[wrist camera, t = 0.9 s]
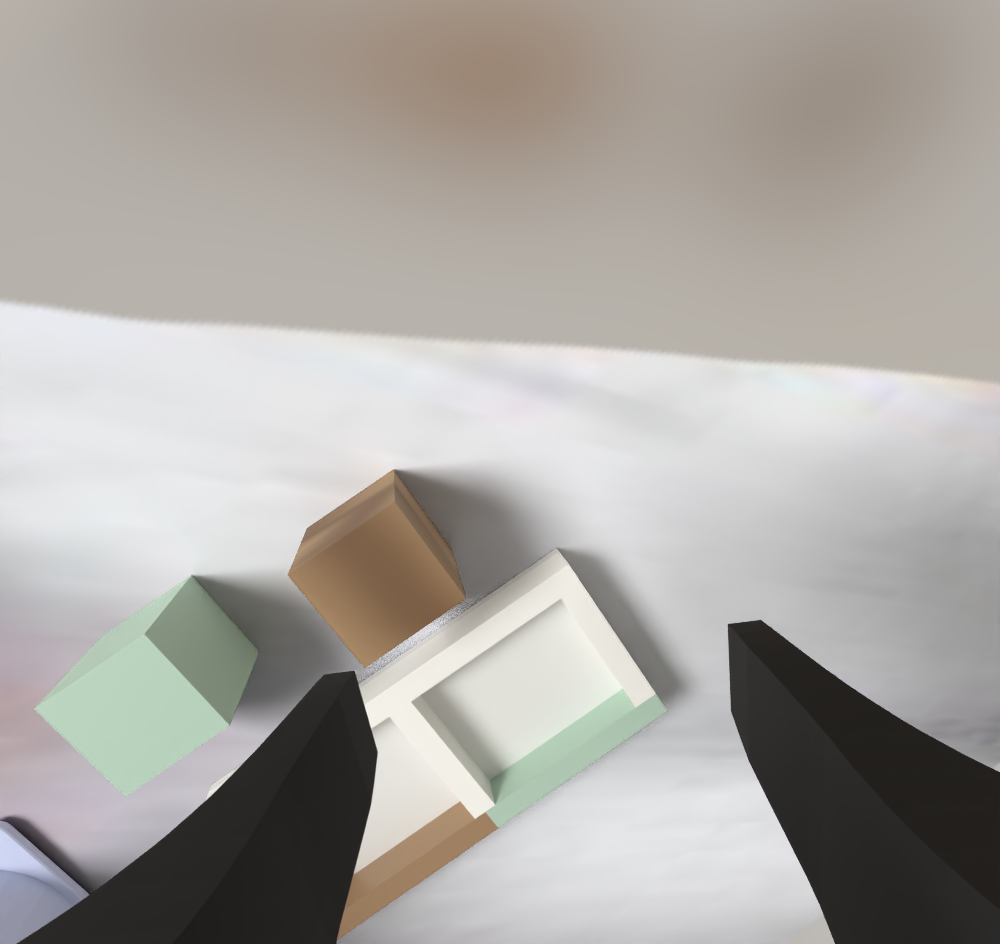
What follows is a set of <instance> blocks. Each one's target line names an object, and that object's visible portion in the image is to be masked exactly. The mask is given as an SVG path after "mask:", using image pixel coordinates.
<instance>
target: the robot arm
mask: <svg viewBox="0 0 1000 944" xmlns="http://www.w3.org/2000/svg"><path fill="white" fill-rule="evenodd" d="M728 642H729V669H730V695H731V712H732V715H733V718H734V721H735V724H736V726H737V729H738V732H739V735H740V738H741V741H742V743H743V746H744V749H745V751H746V754H747V757H748V759H749V762H750V764H751V766H752V768H753V770H754V772H755V774H756V776H757V778H758V780H759V783H760V785H761V787H762V789H763V791H764V793H765V795H766V797H767V799H768V801H769V803H770V805H771V807H772V809H773V811H774V813H775V815H776V817H777V819H778V821H779V823H780V825H781V827H782V829H783V830H784V832H785V834H786V836H787V838H788V840H789V842H790V844H791V846H792V848H793V850H794V852H795V854H796V856H797V858H798V860H799V862H800V864H801V866H802V868H803V870H804V872H805V874H806V876H807V878H808V880H809V883H810V885H811V887H812V889H813V891H814V894H815V896H816V898H817V900H818V902H819V904H820V907H821V909H822V912H823V914H824V917H825V919H826V922H827V924H828V926H829V929H830V932H831V934H832V937H833V939H834V942H835V944H1000V772H998V771H996V770H994V769H992V768H990V767H988V766H986V765H984V764H982V763H980V762H978V761H976V760H974V759H972V758H970V757H968V756H966V755H964V754H962V753H960V752H958V751H956V750H955V749H953V748H951V747H949V746H947V745H945V744H944V743H942V742H940V741H938V740H936V739H934V738H933V737H931V736H929V735H927V734H925V733H923V732H922V731H920V730H918V729H916V728H915V727H913V726H911V725H910V724H908V723H906V722H905V721H903V720H901V719H900V718H898V717H896V716H895V715H893V714H892V713H890V712H889V711H887V710H885V709H884V708H882V707H881V706H879V705H877V704H876V703H874V702H873V701H871V700H870V699H868V698H867V697H865V696H864V695H862V694H861V693H859V692H858V691H856V690H855V689H853V688H852V687H850V686H849V685H847V684H846V683H844V682H843V681H842V680H840V679H839V678H837V677H836V676H835V675H833V674H832V673H830V672H829V671H828V670H826V669H825V668H823V667H822V666H821V665H819V664H818V663H817V662H815V661H814V660H813V659H811V658H810V657H809V656H807V655H806V654H805V653H803V652H802V651H801V650H799V649H798V648H797V647H796V646H794V645H793V644H792V643H790V642H789V641H788V640H786V639H785V638H784V637H783V636H781V635H780V634H779V633H777V632H776V631H775V630H773V629H772V628H771V627H769V626H768V625H767V624H766V623H764V622H763V621H762V620H757V621H749V622H741V623H733V624H728ZM377 756H378V751H377V747H376V744H375V740H374V737H373V733H372V730H371V726H370V723H369V719H368V716H367V712H366V709H365V705H364V702H363V698H362V695H361V692H360V688H359V685H358V681H357V678H356V674H355V671H349V672H341V673H333V674H325V675H324V676H323V677H322V678H321V679H320V680H319V681H318V682H317V683H316V684H315V685H314V686H313V687H312V688H311V690H310V691H309V692H308V693H307V694H306V695H305V696H304V697H303V699H302V700H301V701H300V702H299V703H298V704H297V705H296V707H295V708H294V709H293V710H292V711H291V712H290V713H289V714H288V716H287V717H286V718H285V719H284V720H283V721H282V722H281V723H280V724H279V726H278V727H277V728H276V729H275V730H274V731H273V732H272V733H271V734H270V735H269V737H268V738H267V739H266V740H265V741H264V742H263V743H262V744H261V745H260V747H259V748H258V749H257V750H256V751H255V752H254V753H253V754H252V755H251V756H250V757H249V758H248V759H247V760H246V761H245V762H244V763H243V764H242V765H241V766H240V767H239V768H238V769H237V770H236V771H235V772H234V773H233V774H232V775H231V776H230V777H229V778H228V779H227V780H226V781H225V782H224V783H223V784H222V785H221V786H220V787H219V788H218V789H217V790H216V791H215V792H214V793H213V794H212V795H211V796H210V797H209V798H208V799H207V800H206V801H205V802H204V803H203V804H202V805H200V806H199V807H198V808H197V809H196V810H195V811H194V812H193V813H192V814H191V815H189V816H188V817H187V818H186V819H185V820H184V821H183V822H181V823H180V824H179V825H178V826H177V827H176V828H174V829H173V830H172V831H171V832H170V833H169V834H168V835H166V836H165V837H164V838H163V839H162V840H160V841H159V842H158V843H157V844H156V845H154V846H153V847H152V848H150V849H149V850H148V851H147V852H145V853H144V854H143V855H141V856H140V857H139V858H138V859H136V860H135V861H134V862H132V863H131V864H130V865H128V866H127V867H126V868H125V869H123V870H122V871H121V872H119V873H118V874H117V875H115V876H114V877H113V878H112V879H110V880H109V881H108V882H106V883H105V884H104V885H102V886H101V887H100V888H98V889H97V890H96V891H94V892H93V893H91V894H88V893H87V892H86V891H85V890H84V889H83V888H82V887H80V886H79V885H78V884H77V883H76V882H75V881H74V880H73V879H71V878H70V877H69V876H68V875H67V874H66V873H65V872H63V871H62V870H61V869H60V868H59V867H58V866H57V865H56V864H54V863H53V862H52V861H51V860H50V859H49V858H48V857H47V856H45V855H44V854H43V853H42V852H41V851H40V850H39V849H37V848H36V847H35V846H34V845H33V844H32V843H31V842H30V841H28V840H27V839H26V838H25V837H24V836H23V835H22V834H20V833H19V832H18V831H17V830H16V829H15V828H14V827H13V826H11V825H10V824H9V823H7V822H4V821H0V944H336V942H337V938H338V933H339V929H340V924H341V920H342V917H343V913H344V909H345V905H346V901H347V897H348V893H349V890H350V886H351V882H352V878H353V874H354V870H355V867H356V863H357V859H358V855H359V851H360V847H361V843H362V839H363V836H364V832H365V828H366V824H367V820H368V816H369V811H370V807H371V803H372V796H373V788H374V781H375V773H376V764H377Z"/></svg>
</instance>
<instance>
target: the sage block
mask: <svg viewBox="0 0 1000 944" xmlns="http://www.w3.org/2000/svg"><path fill="white" fill-rule="evenodd" d="M258 654H259V651H258V650H257V649H256V648H255V646H254V645H253V644H252V643H251V642H250V641H249V640H248V638H247V637H246V636H245V635H244V634H243V633H242V632H241V630H240V629H239V628H238V627H237V626H236V625H235V624H234V623H233V621H232V620H231V619H230V618H229V617H228V616H227V615H226V613H225V612H224V611H223V610H222V609H221V608H220V607H219V606H218V604H217V603H216V602H215V601H214V600H213V599H212V598H211V596H210V595H209V594H208V593H207V592H206V591H205V590H204V589H203V587H202V586H201V585H200V584H199V583H198V582H197V581H196V579H195V578H194V577H193V576H192V575H191V576H190V577H188V578H187V579H185V580H184V581H182V582H181V583H179V584H178V585H176V586H175V587H173V588H172V589H171V590H169V591H168V592H166V593H165V594H163V595H162V596H160V597H159V598H157V599H156V600H154V601H153V602H151V603H150V604H148V605H147V606H146V607H144V608H143V609H141V610H140V611H138V612H137V613H135V614H134V615H132V616H131V617H129V618H128V619H126V620H125V621H123V622H122V623H121V624H119V625H118V626H116V627H115V628H113V629H112V630H110V631H109V632H107V633H106V634H104V635H103V636H102V637H101V638H100V639H99V640H98V641H97V642H96V644H95V645H94V646H93V647H92V648H91V649H90V650H89V651H88V652H87V653H86V654H85V655H84V656H83V657H82V658H81V660H80V661H79V662H78V663H77V664H76V665H75V666H74V667H73V668H72V669H71V670H70V671H69V672H68V673H67V674H66V676H65V677H64V678H63V679H62V680H61V681H60V682H59V683H58V684H57V685H56V686H55V687H54V688H53V689H52V690H51V692H50V693H49V694H48V695H47V696H46V697H45V698H44V699H43V700H42V701H41V702H40V703H39V704H38V705H37V706H36V708H35V710H36V711H37V712H38V713H39V714H40V715H41V716H42V717H43V718H44V719H45V720H46V721H47V722H48V723H49V724H50V725H51V726H52V727H53V728H54V729H55V730H56V731H58V732H59V733H60V734H61V735H62V736H63V737H64V738H65V739H66V740H67V741H68V742H69V743H70V744H71V745H72V746H73V747H74V748H75V749H76V750H77V751H78V752H79V753H80V754H81V755H82V756H84V757H85V758H86V759H87V760H88V761H89V762H90V763H91V764H92V765H93V766H94V767H95V768H96V769H97V770H98V771H99V772H100V773H101V774H102V775H103V776H104V777H105V778H106V779H107V780H108V781H110V782H111V783H112V784H113V785H114V786H115V787H116V788H117V789H118V790H119V791H120V792H121V793H122V794H123V795H124V796H125V797H126V796H127V795H129V794H130V793H132V792H133V791H135V790H136V789H138V788H139V787H141V786H142V785H143V784H145V783H146V782H148V781H149V780H151V779H152V778H154V777H155V776H157V775H158V774H160V773H161V772H162V771H164V770H165V769H167V768H168V767H170V766H171V765H173V764H174V763H176V762H177V761H178V760H180V759H181V758H183V757H184V756H186V755H187V754H189V753H190V752H192V751H193V750H195V749H196V748H197V747H199V746H200V745H202V744H203V743H205V742H206V741H208V740H209V739H211V738H212V737H213V736H215V735H216V734H218V733H219V732H221V731H222V730H224V729H225V728H227V727H228V726H229V725H230V723H231V721H232V718H233V716H234V713H235V711H236V708H237V706H238V703H239V701H240V699H241V696H242V694H243V691H244V689H245V686H246V684H247V681H248V679H249V676H250V674H251V671H252V669H253V666H254V664H255V661H256V659H257V656H258Z"/></svg>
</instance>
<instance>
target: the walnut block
mask: <svg viewBox="0 0 1000 944" xmlns="http://www.w3.org/2000/svg"><path fill="white" fill-rule="evenodd" d="M288 576H289V577H290V578H291V580H292V581H293V582H294V583H295V585H296V586H297V587H298V588H299V589H300V591H301V592H302V593H303V594H304V595H305V597H306V598H307V599H308V600H309V601H310V603H311V604H312V605H313V606H314V607H315V609H316V610H317V611H318V612H319V614H320V615H321V616H322V617H323V618H324V620H325V621H326V622H327V623H328V624H329V626H330V627H331V628H332V629H333V630H334V632H335V633H336V634H337V635H338V636H339V638H340V639H341V640H342V641H343V643H344V644H345V645H346V646H347V647H348V649H349V650H350V651H351V652H352V653H353V655H354V656H355V657H356V658H357V659H358V661H359V662H360V663H361V664H362V665H363V667H364V668H365V667H367V666H368V665H370V664H371V663H373V662H374V661H376V660H377V659H379V658H380V657H381V656H383V655H384V654H386V653H387V652H389V651H390V650H392V649H393V648H395V647H396V646H397V645H399V644H400V643H402V642H403V641H405V640H406V639H408V638H409V637H411V636H412V635H414V634H415V633H416V632H418V631H419V630H421V629H422V628H424V627H425V626H427V625H428V624H430V623H431V622H432V621H434V620H435V619H437V618H438V617H440V616H441V615H443V614H444V613H446V612H447V611H448V610H450V609H451V608H453V607H454V606H456V605H457V604H459V603H460V602H462V601H463V600H464V599H466V596H465V593H464V589H463V586H462V582H461V579H460V576H459V572H458V569H457V565H456V562H455V558H454V555H453V551H452V549H451V547H450V546H449V545H448V543H447V542H446V540H445V539H444V538H443V536H442V535H441V534H440V532H439V531H438V530H437V528H436V527H435V525H434V524H433V523H432V521H431V520H430V519H429V517H428V516H427V514H426V513H425V512H424V510H423V509H422V508H421V506H420V505H419V503H418V502H417V501H416V499H415V498H414V497H413V495H412V494H411V493H410V491H409V490H408V488H407V487H406V486H405V484H404V483H403V482H402V480H401V479H400V477H399V476H398V475H397V473H396V472H395V471H394V470H392V471H391V472H389V473H388V474H386V475H385V476H383V477H382V478H380V479H379V480H377V481H376V482H374V483H373V484H371V485H370V486H369V487H367V488H366V489H364V490H363V491H361V492H360V493H358V494H357V495H355V496H354V497H352V498H351V499H349V500H348V501H346V502H345V503H344V504H342V505H341V506H339V507H338V508H336V509H335V510H333V511H332V512H330V513H329V514H327V515H326V516H324V517H323V518H322V519H320V520H319V521H317V522H316V523H314V524H313V525H311V526H310V527H308V528H307V530H306V532H305V535H304V537H303V539H302V542H301V544H300V547H299V549H298V552H297V554H296V556H295V559H294V561H293V564H292V566H291V569H290V571H289V573H288Z"/></svg>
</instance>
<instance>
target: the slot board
mask: <svg viewBox="0 0 1000 944" xmlns="http://www.w3.org/2000/svg"><path fill="white" fill-rule="evenodd" d="M358 685H359V688H360V692H361V695H362V698H363V702H364V705H365V709H366V712H367V716H368V719H369V723H370V726H371V730H372V733H373V737H374V740H375V744H376V747H377V751H378V756H377V764H376V773H375V781H374V788H373V796H372V803H371V807H370V811H369V816H368V820H367V824H366V828H365V832H364V836H363V839H362V843H361V847H360V851H359V855H358V859H357V863H356V867H355V870H354V874H353V878H352V882H351V886H350V890H349V893H348V897H347V901H346V905H345V909H344V913H343V917H342V920H341V924H340V929H339V933H338V938H337V940H338V939H339V938H340V937H342V936H343V935H345V934H346V933H348V932H349V931H351V930H352V929H353V928H355V927H356V926H358V925H359V924H361V923H362V922H364V921H365V920H366V919H368V918H369V917H371V916H372V915H374V914H375V913H376V912H378V911H379V910H381V909H382V908H384V907H385V906H387V905H388V904H389V903H391V902H392V901H394V900H395V899H397V898H398V897H400V896H401V895H402V894H404V893H405V892H407V891H408V890H410V889H411V888H413V887H414V886H415V885H417V884H418V883H420V882H421V881H423V880H424V879H426V878H427V877H428V876H430V875H431V874H433V873H434V872H436V871H437V870H438V869H440V868H441V867H443V866H444V865H446V864H447V863H449V862H450V861H451V860H453V859H454V858H456V857H457V856H459V855H460V854H462V853H463V852H464V851H466V850H467V849H469V848H470V847H472V846H473V845H475V844H476V843H477V842H479V841H480V840H482V839H483V838H485V837H486V836H488V835H489V834H490V833H492V832H493V831H495V830H496V829H498V828H499V827H500V826H502V825H503V824H505V823H506V822H508V821H509V820H511V819H512V818H513V817H515V816H516V815H518V814H519V813H521V812H522V811H524V810H525V809H526V808H528V807H529V806H531V805H532V804H534V803H535V802H537V801H538V800H539V799H541V798H542V797H544V796H545V795H547V794H548V793H549V792H551V791H552V790H554V789H555V788H557V787H558V786H560V785H561V784H562V783H564V782H565V781H567V780H568V779H570V778H571V777H573V776H574V775H575V774H577V773H578V772H580V771H581V770H583V769H584V768H586V767H587V766H588V765H590V764H591V763H593V762H594V761H596V760H597V759H599V758H600V757H601V756H603V755H604V754H606V753H607V752H609V751H610V750H611V749H613V748H614V747H616V746H617V745H619V744H620V743H622V742H623V741H624V740H626V739H627V738H629V737H630V736H632V735H633V734H635V733H636V732H637V731H639V730H640V729H642V728H643V727H645V726H646V725H648V724H649V723H650V722H652V721H653V720H655V719H656V718H658V717H659V716H661V715H662V714H663V713H665V712H666V711H667V709H666V708H665V706H664V705H663V704H662V702H661V701H660V699H659V698H658V696H657V695H656V693H655V692H654V690H653V689H652V687H651V686H650V684H649V683H648V681H647V680H646V678H645V677H644V675H643V674H642V672H641V671H640V669H639V668H638V666H637V665H636V663H635V662H634V660H633V659H632V657H631V656H630V654H629V653H628V651H627V650H626V648H625V647H624V646H623V644H622V643H621V641H620V640H619V638H618V637H617V635H616V634H615V632H614V631H613V629H612V628H611V626H610V625H609V623H608V622H607V620H606V619H605V617H604V616H603V614H602V613H601V611H600V610H599V608H598V607H597V605H596V604H595V602H594V601H593V599H592V598H591V596H590V595H589V593H588V592H587V590H586V589H585V588H584V586H583V585H582V583H581V582H580V580H579V579H578V577H577V576H576V574H575V573H574V571H573V570H572V568H571V567H570V565H569V564H568V562H567V561H566V560H565V559H564V557H563V556H562V555H561V553H560V552H559V551H558V549H557V548H556V549H555V550H553V551H552V552H550V553H549V554H547V555H546V556H544V557H543V558H542V559H540V560H539V561H537V562H536V563H534V564H533V565H531V566H530V567H528V568H527V569H525V570H524V571H523V572H521V573H520V574H518V575H517V576H515V577H514V578H512V579H511V580H509V581H508V582H507V583H505V584H504V585H502V586H501V587H499V588H498V589H496V590H495V591H493V592H492V593H491V594H489V595H488V596H486V597H485V598H483V599H482V600H480V601H479V602H477V603H476V604H474V605H473V606H472V607H470V608H469V609H467V610H466V611H464V612H463V613H461V614H460V615H458V616H457V617H456V618H454V619H453V620H451V621H450V622H448V623H447V624H445V625H444V626H442V627H441V628H439V629H438V630H437V631H435V632H434V633H432V634H431V635H429V636H428V637H426V638H425V639H423V640H422V641H421V642H419V643H418V644H416V645H415V646H413V647H412V648H410V649H409V650H407V651H406V652H405V653H403V654H402V655H400V656H399V657H397V658H396V659H394V660H393V661H391V662H390V663H388V664H387V665H386V666H384V667H383V668H381V669H380V670H378V671H377V672H375V673H374V674H372V675H371V676H370V677H368V678H367V679H365V680H364V681H362V682H361V683H359V684H358ZM241 765H242V764H241ZM241 765H240V766H241ZM240 766H238V767H237V768H235V769H234V770H233V771H231V772H230V773H228V774H227V775H225V776H224V777H222V778H221V779H219V780H218V781H217V782H215V783H214V784H212V785H211V788H210V790H209V793H208V796H207V798H206V800H207V799H208V798H209V797H210V796H211V795H212V794H213V793H214V792H215V791H216V790H217V789H218V788H219V787H220V786H221V785H222V784H223V783H224V782H225V781H226V780H227V779H228V778H229V777H230V776H231V775H232V774H233V773H234V772H235V771H236V770H237V769H238V768H239V767H240Z"/></svg>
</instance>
